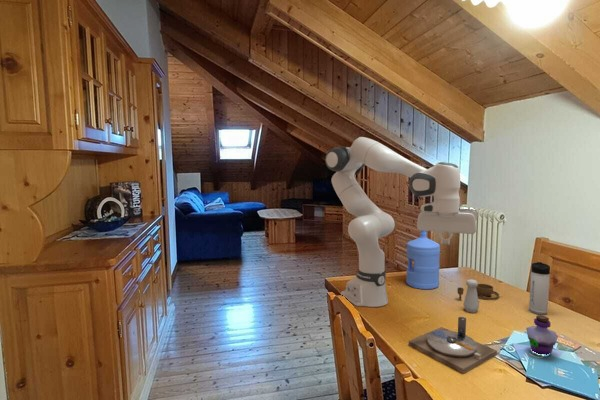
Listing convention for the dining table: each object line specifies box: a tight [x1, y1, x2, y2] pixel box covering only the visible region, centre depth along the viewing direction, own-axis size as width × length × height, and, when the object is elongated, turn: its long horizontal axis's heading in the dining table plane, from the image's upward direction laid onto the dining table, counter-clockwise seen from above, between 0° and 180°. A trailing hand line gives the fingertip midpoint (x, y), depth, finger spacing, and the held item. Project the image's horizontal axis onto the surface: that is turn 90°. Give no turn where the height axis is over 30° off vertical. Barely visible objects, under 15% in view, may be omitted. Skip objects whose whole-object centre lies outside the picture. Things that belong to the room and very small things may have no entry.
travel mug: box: [528, 261, 551, 316], centre depth 144 cm, size 6×7×20 cm
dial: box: [427, 316, 477, 357], centre depth 116 cm, size 15×15×7 cm
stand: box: [408, 326, 498, 375], centre depth 117 cm, size 20×18×3 cm
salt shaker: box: [463, 278, 480, 314], centre depth 146 cm, size 6×6×13 cm
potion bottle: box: [525, 314, 559, 355], centre depth 114 cm, size 9×9×12 cm
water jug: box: [405, 230, 441, 290], centre depth 178 cm, size 16×16×28 cm
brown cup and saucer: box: [457, 283, 500, 302], centre depth 164 cm, size 18×20×6 cm
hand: (445, 243), depth 132 cm, fingers closed
